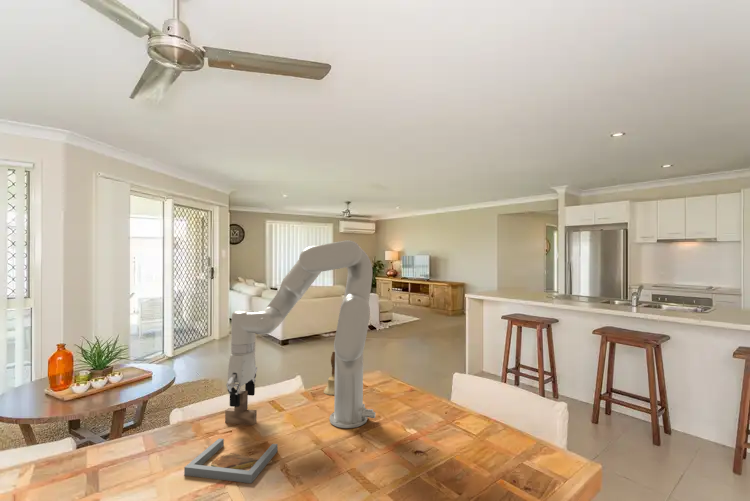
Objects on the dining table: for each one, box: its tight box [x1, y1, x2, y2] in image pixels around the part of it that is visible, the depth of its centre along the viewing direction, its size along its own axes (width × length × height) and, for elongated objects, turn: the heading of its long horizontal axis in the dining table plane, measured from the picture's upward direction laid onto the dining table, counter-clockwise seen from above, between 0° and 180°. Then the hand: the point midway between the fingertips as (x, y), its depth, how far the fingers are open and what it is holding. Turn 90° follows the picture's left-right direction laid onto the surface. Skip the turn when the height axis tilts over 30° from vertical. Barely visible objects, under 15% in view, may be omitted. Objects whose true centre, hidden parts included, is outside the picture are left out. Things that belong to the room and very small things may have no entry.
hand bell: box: [323, 351, 335, 396], centre depth 146 cm, size 8×8×16 cm
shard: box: [210, 452, 260, 470], centre depth 93 cm, size 11×8×2 cm
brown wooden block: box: [224, 389, 258, 426], centre depth 118 cm, size 10×3×10 cm, turn 81°
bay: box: [183, 438, 279, 484], centre depth 95 cm, size 18×14×2 cm
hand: (242, 400), depth 118 cm, fingers open, 9 cm apart
